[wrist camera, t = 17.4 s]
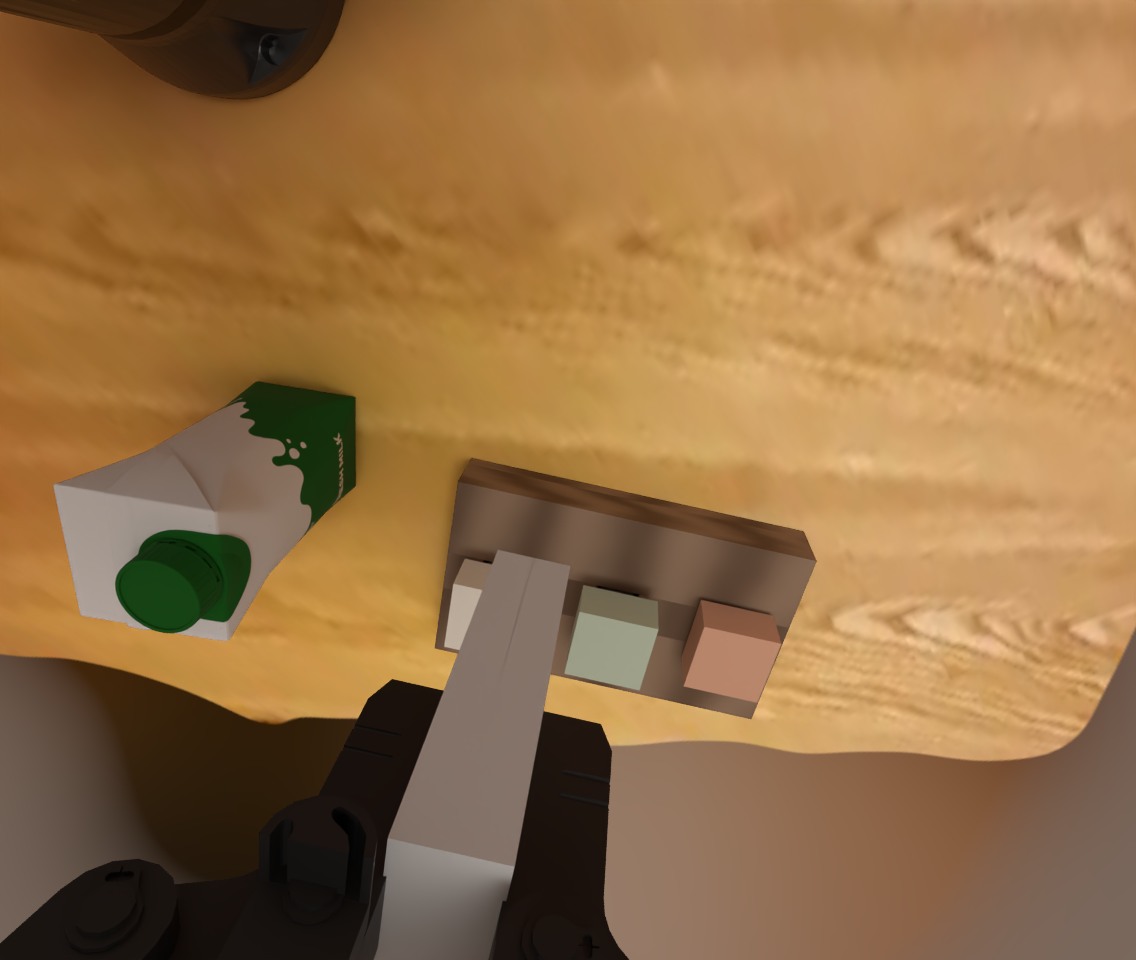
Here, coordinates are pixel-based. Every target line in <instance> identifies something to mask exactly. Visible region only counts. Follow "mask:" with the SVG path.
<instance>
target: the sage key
mask: <svg viewBox="0 0 1136 960" xmlns="http://www.w3.org/2000/svg"><path fill="white" fill-rule="evenodd" d="M658 630H659V627H658V602H657V601H653V600H648V599H644V598H639V597H635V596H634V593H630V592H625V591H621V590H616V589H612V588H607V587H603V586H600V587H599V588H594V587H590V586H585V585H583V589H582V593H581V597H580V601H579V605H578V609H577V613H576V617H575V621H574V626H573V630H572V634H571V638H570V642H569V647H568V653H567V659H566V666H565V672H564V674H568V675H573V676H577V677H581V678H586V679H590V680H595V681H599V682H604V683H608V684H613V685H617V686H622V687H626V688H631V689H635V690H639V691H640V687H641V684H642V681H643V678H644V675H645V671H646V668H647V665H648V662H649V659H650V655H651V652H652V649H653V646H654V643H655V639H656V636H657V633H658Z"/></svg>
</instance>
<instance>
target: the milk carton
mask: <svg viewBox="0 0 1136 960" xmlns="http://www.w3.org/2000/svg"><path fill="white" fill-rule="evenodd" d="M53 486H54V491H55V496H56V501H57V506H58V510H59V515H60V520H61V524H62V529H63V534H64V539H65V543H66V548H67V553H68V558H69V562H70V567H71V572H72V577H73V581H74V586H75V591H76V595H77V600H78V605H79V610H80V614H81V615H82V616H87V617H93V618H98V619H104V620H110V621H116V622H122V623H127V626H129V627H133V628H138V629H144V630H150V629H152V630H155V631H158V632H163V633H176V634H182V635H189V636H195V637H201V638H207V639H214V640H220V641H227V640H229V639H230V638H231V637H232V635H233V633H234V631H235V630H236V628H237V626H238V625H239V623H240V621H241V620H242V618H243V616H244V615H245V613H246V611H247V610H248V608H249V606H250V605H251V603H252V601H253V600H254V598H255V596H256V595H257V593H258V591H259V590H260V588H261V586H262V585H263V583H264V581H265V580H266V578H267V577H268V575H269V574H270V573H271V571H272V570H273V569H274V568H275V567H276V566H277V565H278V564H279V563H280V562H281V560H282V559H283V558H284V557H285V556H286V555H287V554H288V553H289V552H290V551H291V549H292V548H293V547H294V546H295V545H296V544H297V543H298V542H299V541H300V540H301V539H302V537H303V536H304V535H305V534H306V533H307V532H308V531H309V530H310V529H311V528H312V527H313V525H314V524H315V523H316V522H317V521H318V520H319V519H320V518H321V517H322V516H323V515H324V514H325V512H327V511H328V510H329V509H330V508H331V507H332V506H333V505H334V504H336V503H337V502H338V501H339V500H340V499H341V498H342V497H344V496H345V495H346V494H347V493H348V492H349V491H350V490H352V489H353V488H354V487H355V486H356V483H355V397H351V396H345V395H338V394H332V393H326V392H319V391H313V390H307V389H301V388H294V387H288V386H282V385H275V384H269V383H263V382H255V383H254V384H253V385H251V386H250V387H249V388H248V389H246V390H245V391H244V392H243V393H241V394H240V395H239V396H238V397H236V398H235V399H234V400H233V401H231V402H230V403H229V404H228V405H226V406H225V407H223V408H221V409H220V410H218V411H216V412H214V413H213V414H211V415H209V416H207V417H206V418H204V419H202V420H201V421H199V422H197V423H195V424H194V425H192V426H190V427H188V428H187V429H185V430H183V431H181V432H180V433H178V434H176V435H174V436H173V437H171V438H169V439H167V440H166V441H164V442H162V443H160V444H159V445H157V446H155V447H153V448H152V449H150V450H148V451H146V452H144V453H141V454H139V455H136V456H133V457H130V458H128V459H125V460H122V461H119V462H116V463H114V464H111V465H108V466H105V467H102V468H100V469H97V470H94V471H91V472H88V473H85V474H82V475H80V476H77V477H74V478H71V479H68V480H65V481H62V482H59V483H56V484H54V485H53Z"/></svg>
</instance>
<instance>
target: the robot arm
mask: <svg viewBox="0 0 1136 960" xmlns="http://www.w3.org/2000/svg"><path fill="white" fill-rule="evenodd" d="M343 4H344V0H0V11H1V12H5V13H9V14H14V15H18V16H22V17H26V18H31V19H35V20H39V21H44V22H48V23H52V24H56V25H61V26H65V27H69V28H74V29H78V30H82V31H87V32H91V33H96V34H98V35H100V36H101V37H102V38H104V39H105V40H106V41H107V42H109V43H110V44H111V45H113V46H114V47H115V48H116V49H118V50H119V51H120V52H122V53H123V54H124V55H126V56H127V57H128V58H129V59H131V60H132V61H133V62H135V63H136V64H137V65H139V66H140V67H141V68H143V69H144V70H146V71H147V72H149V73H151V74H152V75H154V76H155V77H157V78H159V79H161V80H163V81H165V82H167V83H170V84H172V85H174V86H176V87H179V88H182V89H184V90H187V91H191V92H195V93H199V94H203V95H210V96H216V97H222V98H230V99H248V98H256V97H261V96H265V95H269V94H272V93H274V92H277V91H279V90H281V89H283V88H285V87H287V86H289V85H290V84H292V83H293V82H295V81H296V80H298V79H299V78H300V77H301V76H303V75H304V74H305V73H306V72H307V71H308V70H309V69H310V68H311V67H312V66H313V65H314V64H315V63H316V61H317V60H318V59H319V57H320V56H321V55H322V53H323V52H324V50H325V49H326V47H327V45H328V43H329V42H330V40H331V38H332V36H333V34H334V31H335V29H336V27H337V24H338V21H339V18H340V15H341V12H342V8H343ZM569 571H570V566H568V565H564V564H559V563H555V562H550V561H546V560H541V559H537V558H532V557H528V556H523V555H519V554H514V553H510V552H505V551H501V550H497V553H496V556H495V558H494V561H493V564H492V566H491V569H490V571H489V574H488V577H487V579H486V582H485V585H484V587H483V590H482V592H481V595H480V598H479V600H478V603H477V605H476V608H475V611H474V613H473V616H472V619H471V621H470V624H469V626H468V629H467V632H466V634H465V637H464V640H463V642H462V645H461V647H460V650H459V653H458V655H457V658H456V660H455V663H454V666H453V668H452V671H451V674H450V676H449V679H448V681H447V684H446V687H445V689H444V691H443V690H438V689H434V688H429V687H425V686H420V685H416V684H411V683H407V682H403V681H398V680H394V679H392V680H390V681H389V682H388V683H387V684H386V685H384V686H383V687H382V688H381V689H379V690H378V691H377V692H376V693H374V694H373V695H372V696H371V697H370V698H368V700H367V702H366V704H365V706H364V708H363V710H362V712H361V714H360V716H359V718H358V720H357V722H356V724H355V727H354V729H352V731H351V733H350V735H349V737H348V739H347V741H346V743H345V745H344V748H343V751H341V753H340V754H339V756H338V758H337V761H336V762H335V764H334V766H333V768H332V770H331V772H330V774H329V776H328V778H327V779H326V781H325V783H324V786H323V787H322V789H321V791H320V793H319V795H318V796H314V797H311V798H307V799H303V800H299V801H296V802H294V803H292V804H290V805H289V806H287V807H286V808H284V809H282V810H281V811H279V812H278V813H276V814H274V815H273V817H272V818H271V819H270V820H269V822H268V823H267V824H266V825H265V826H264V827H263V829H262V830H261V831H260V832H259V869H258V870H255V871H253V872H250V873H248V874H246V875H243V876H239V877H234V878H229V879H223V880H214V881H204V882H194V883H184V884H174V880H173V877H172V876H171V875H169V874H168V873H167V872H166V871H165V870H164V869H163V868H162V867H161V866H160V865H159V864H155V863H151V862H147V861H144V860H140V859H133V860H122V861H112V862H110V863H107V864H105V865H102V866H99V867H97V868H94V869H92V870H89V871H86V872H85V873H83V874H82V875H80V876H79V877H78V878H76V879H75V880H73V881H72V882H70V883H69V884H68V885H66V886H65V887H63V888H62V889H60V891H58V892H57V893H56V894H55V895H54V896H53V897H51V898H50V899H49V900H48V901H47V902H46V903H45V904H44V905H43V906H42V907H40V908H39V909H38V910H37V911H36V912H35V913H34V914H32V915H31V916H30V917H29V918H28V919H27V920H26V921H25V922H24V923H22V924H21V925H20V926H19V927H18V928H17V929H16V930H15V931H14V932H12V933H11V934H10V935H9V936H8V937H7V938H6V939H5V940H3V941H2V942H1V943H0V960H629V959H628V958H627V956H625V954H624V953H623V952H622V951H621V949H620V948H619V947H618V945H617V943H616V941H615V940H614V938H613V936H612V934H611V932H610V930H609V927H608V924H607V921H606V917H605V912H604V883H605V865H606V847H607V828H608V811H609V809H608V804H609V793H610V785H609V783H610V775H611V757H612V750H611V748H610V745H609V743H608V740H607V738H606V735H605V733H604V731H603V728H602V726H601V724H598V723H594V722H589V721H585V720H580V719H576V718H572V717H567V716H563V715H558V714H554V713H549V712H545V711H544V706H545V700H546V695H547V689H548V684H549V679H550V673H551V668H552V662H553V657H554V652H555V646H556V641H557V635H558V630H559V625H560V619H561V614H562V608H563V603H564V598H565V592H566V587H567V581H568V576H569Z"/></svg>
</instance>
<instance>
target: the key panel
mask: <svg viewBox="0 0 1136 960" xmlns="http://www.w3.org/2000/svg"><path fill="white" fill-rule="evenodd" d="M497 550H501V551H505V552H510V553H514V554H519V555H523V556H528V557H532V558H537V559H541V560H546V561H550V562H555V563H559V564H564V565H568V566H570V571H569V576H568V581H567V587H566V592H565V598H564V603H563V608H562V614H561V619H560V625H559V630H558V635H557V641H556V646H555V652H554V657H553V662H552V668H551V673H550V674H552V675H556V676H561V677H565V678H570V679H574V680H579V681H583V682H587V683H592V684H596V685H601V686H605V687H610V688H614V689H619V690H623V691H628V692H632V693H637V694H641V695H645V696H650V697H654V698H659V699H663V700H668V701H672V702H677V703H681V704H686V705H690V706H695V707H699V708H703V709H708V710H712V711H717V712H721V713H726V714H730V715H735V716H739V717H744V718H748V719H752V716H753V714H754V711H755V709H756V707H757V704H758V702H759V700H758V702H757V703H756V702H751V701H747V700H742V699H738V698H733V697H729V696H724V695H720V694H716V693H711V692H707V691H702V690H698V689H693V688H689V687H684V684H683V671H682V654H683V651H684V648H685V645H686V642H687V639H688V636H689V634H690V631H691V628H692V625H693V622H694V619H695V616H696V613H697V610H698V607H699V604H700V601H701V600H704V601H709V602H713V603H718V604H722V605H727V606H731V607H736V608H740V609H745V610H749V611H753V612H758V613H762V614H767V615H771V616H774V620H775V623H776V626H777V630H778V633H779V637H780V640H781V646H782V644H783V641H784V639H785V636H786V634H787V632H788V629H789V627H790V624H791V622H792V619H793V617H794V615H795V612H796V610H797V607H798V605H799V603H800V600H801V598H802V595H803V593H804V590H805V588H806V586H807V583H808V581H809V578H810V576H811V574H812V571H813V569H814V566H815V564H816V559H815V556H814V554H813V552H812V549H811V547H810V545H809V542H808V540H807V538H806V536H805V533H804V532H803V531H799V530H794V529H790V528H785V527H781V526H776V525H772V524H767V523H763V522H758V521H754V520H749V519H745V518H740V517H736V516H731V515H726V514H722V513H717V512H713V511H708V510H704V509H699V508H695V507H690V506H686V505H681V504H677V503H672V502H668V501H663V500H659V499H654V498H650V497H645V496H641V495H636V494H632V493H627V492H623V491H618V490H613V489H609V488H604V487H600V486H595V485H591V484H586V483H582V482H577V481H573V480H568V479H564V478H559V477H555V476H550V475H546V474H541V473H537V472H532V471H528V470H523V469H519V468H514V467H510V466H505V465H500V464H496V463H491V462H487V461H482V460H478V459H473V458H472V459H471V460H470V462H469V464H468V466H467V467H466V469H465V471H464V472H463V474H462V476H461V477H460V479H459V481H458V485H457V493H456V500H455V507H454V514H453V521H452V528H451V536H450V543H449V550H448V557H447V564H446V571H445V578H444V586H443V593H442V600H441V607H440V614H439V621H438V629H437V636H436V643H435V648H436V649H440V650H445V651H449V652H454V653H459V650H456V649H452V648H448V647H444V644H445V638H446V631H447V624H448V617H449V610H450V604H451V597H452V590H453V584H454V581H455V579H456V577H457V575H458V573H459V570H460V568H461V566H462V564H463V562H464V559H469V560H473V561H478V562H482V563H487V564H488V561H490V562H493V561H494V558H495V556H496V553H497ZM583 585H585V586H590V587H594V588H599V587H600V586H603V587H607V588H612V589H616V590H621V591H625V592H630V593H634V596H635V597H639V598H644V599H648V600H653V601H657V602H658V627H659V630H658V633H657V636H656V639H655V643H654V646H653V649H652V652H651V655H650V659H649V662H648V665H647V668H646V671H645V675H644V678H643V681H642V684H641V687H640V691H639V690H635V689H631V688H626V687H622V686H617V685H613V684H608V683H604V682H599V681H595V680H590V679H586V678H581V677H577V676H573V675H568V674H564V672H565V666H566V659H567V653H568V647H569V642H570V638H571V634H572V630H573V626H574V621H575V617H576V613H577V609H578V605H579V601H580V597H581V593H582V589H583ZM781 646H780V648H781ZM779 651H780V649H779ZM779 651H778V653H779ZM777 656H778V654H777ZM777 656H776V658H777ZM776 658H775V661H776ZM775 661H774V663H775ZM774 663H773V665H774ZM772 668H773V666H772ZM772 668H771V670H772ZM770 673H771V671H770ZM770 673H769V675H770ZM769 675H768V678H769ZM768 678H767V680H768ZM767 680H766V682H767ZM765 685H766V683H765ZM765 685H764V687H765ZM763 690H764V688H763ZM763 690H762V692H763ZM762 692H761V694H762ZM760 697H761V695H760ZM760 697H759V699H760Z"/></svg>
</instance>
